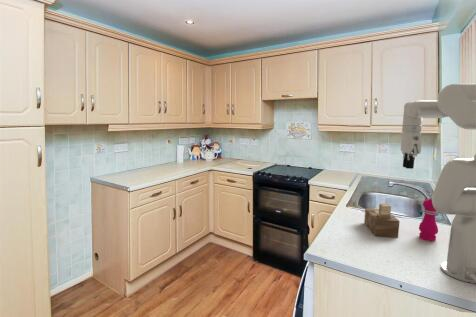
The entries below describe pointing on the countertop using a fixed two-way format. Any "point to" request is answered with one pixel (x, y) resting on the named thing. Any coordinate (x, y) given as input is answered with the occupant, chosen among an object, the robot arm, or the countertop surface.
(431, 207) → the pepper mill
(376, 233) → the socket block
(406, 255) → the countertop surface
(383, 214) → the peg
